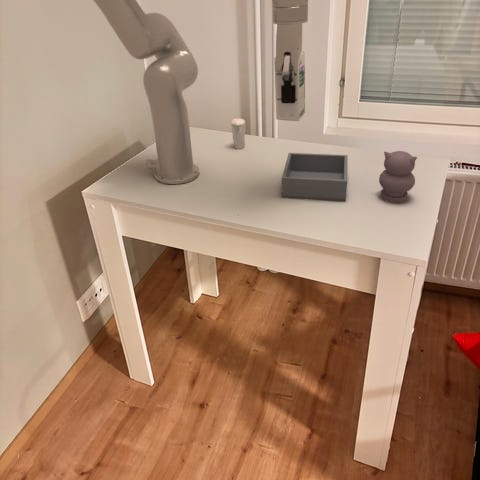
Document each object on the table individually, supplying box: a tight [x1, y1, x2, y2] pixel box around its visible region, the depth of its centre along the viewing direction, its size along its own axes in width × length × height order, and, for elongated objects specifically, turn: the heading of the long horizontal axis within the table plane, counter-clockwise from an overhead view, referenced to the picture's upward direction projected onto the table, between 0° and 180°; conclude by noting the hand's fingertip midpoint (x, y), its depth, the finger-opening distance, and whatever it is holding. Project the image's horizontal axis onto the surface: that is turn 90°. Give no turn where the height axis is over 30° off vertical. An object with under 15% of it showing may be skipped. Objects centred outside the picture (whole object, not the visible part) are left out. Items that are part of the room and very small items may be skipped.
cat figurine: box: [378, 150, 418, 204], centre depth 115 cm, size 8×8×12 cm
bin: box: [281, 152, 349, 202], centre depth 123 cm, size 16×16×6 cm
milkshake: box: [230, 117, 247, 150], centre depth 146 cm, size 5×5×10 cm
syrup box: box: [273, 51, 306, 122], centre depth 109 cm, size 6×6×14 cm
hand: (290, 97), depth 110 cm, fingers closed on syrup box, 6 cm apart
